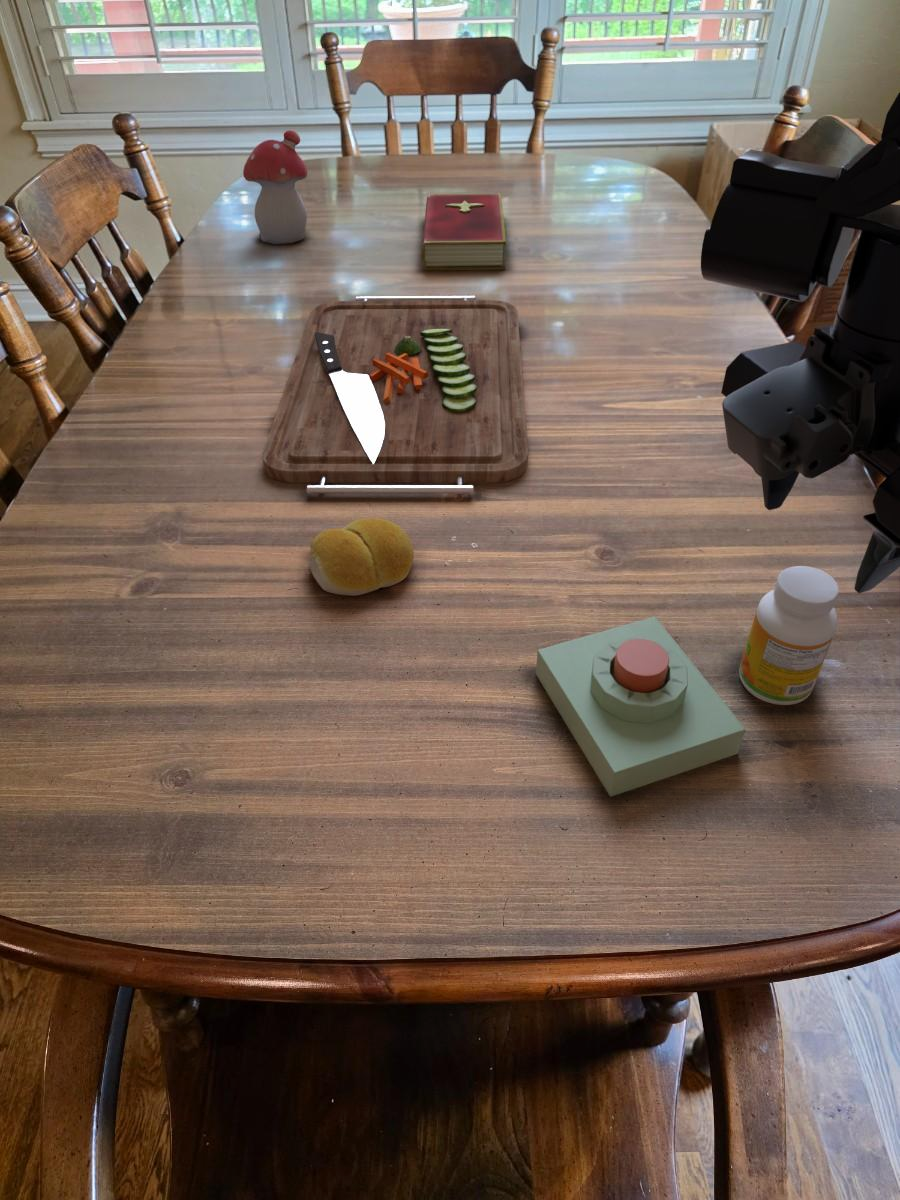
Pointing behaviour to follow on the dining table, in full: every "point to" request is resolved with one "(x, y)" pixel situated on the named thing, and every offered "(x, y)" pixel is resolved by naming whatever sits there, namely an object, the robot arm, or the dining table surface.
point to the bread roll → (361, 557)
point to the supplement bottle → (790, 636)
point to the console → (636, 709)
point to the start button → (641, 665)
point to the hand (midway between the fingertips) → (814, 546)
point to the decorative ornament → (278, 189)
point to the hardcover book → (463, 232)
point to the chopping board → (403, 397)
